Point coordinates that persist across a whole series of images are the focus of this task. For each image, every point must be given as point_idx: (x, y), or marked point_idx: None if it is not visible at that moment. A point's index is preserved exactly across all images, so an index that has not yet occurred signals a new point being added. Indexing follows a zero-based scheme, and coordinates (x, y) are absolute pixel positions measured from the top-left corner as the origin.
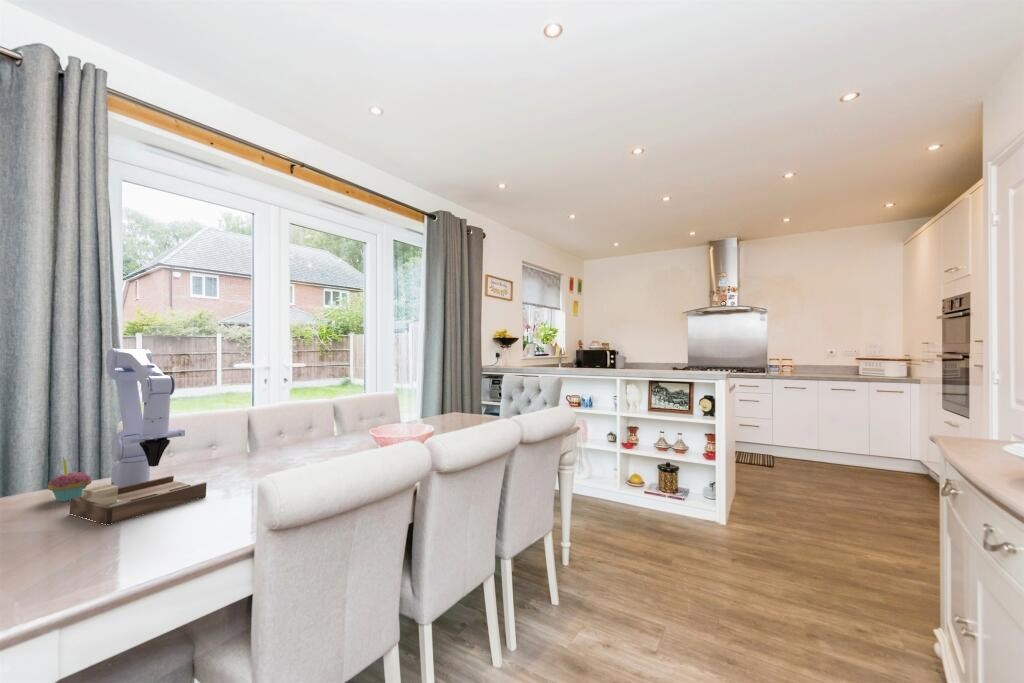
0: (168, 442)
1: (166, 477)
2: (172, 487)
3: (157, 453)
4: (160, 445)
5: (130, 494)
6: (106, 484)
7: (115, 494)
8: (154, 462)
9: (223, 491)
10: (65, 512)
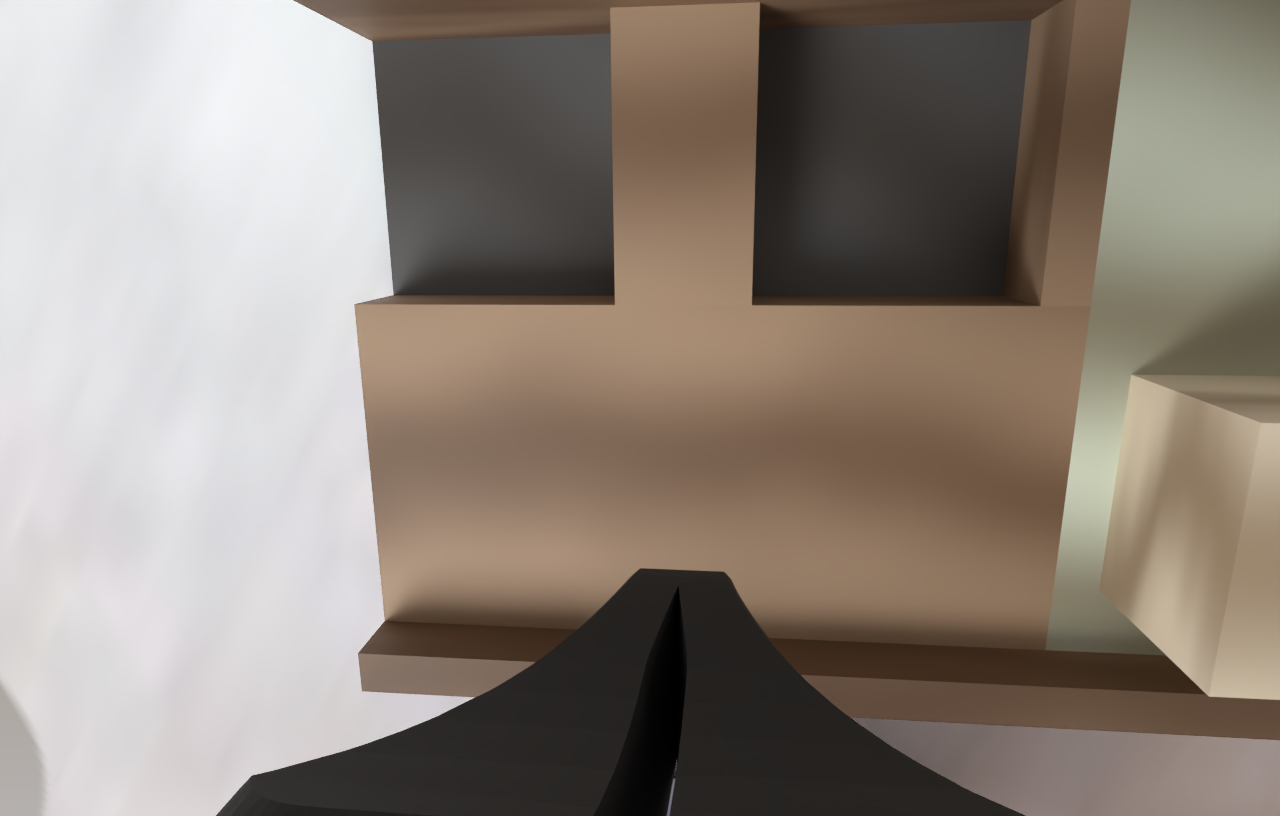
0: (275, 799)
1: (433, 666)
2: (523, 380)
3: (641, 721)
4: (611, 795)
5: (892, 526)
6: (1238, 665)
7: (1214, 396)
8: (716, 592)
9: (171, 12)
10: (1244, 740)
